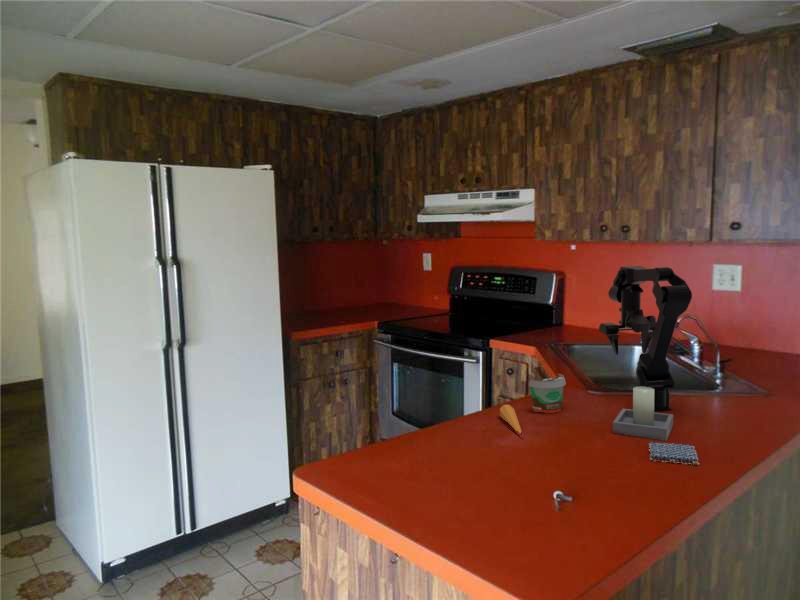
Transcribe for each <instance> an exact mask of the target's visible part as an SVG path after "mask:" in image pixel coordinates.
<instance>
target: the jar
mask: <svg viewBox="0 0 800 600" xmlns="http://www.w3.org/2000/svg"><path fill="white" fill-rule="evenodd" d="M632 391H633V392H632V410H633V424H639V425H647V426H654V412H655V411H654V389H653V388H650V387H642V386H640V387H639V386H635V387H633V388H632Z"/></svg>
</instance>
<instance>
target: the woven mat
mask: <svg viewBox="0 0 800 600" xmlns="http://www.w3.org/2000/svg"><path fill="white" fill-rule="evenodd" d="M678 443H679V442H678ZM678 443H674V442H672V443H670V442H669V443H667V441H666V442H661V443H660V441H655V442H653V441H652V440H651V441H650V442H649V443H648V446H649V447H647V448H648V450H647V451H650V453H651V454H649V460H650V461H651V460H653V461H652V462H656V461H657V462H658V461H661V462H660V463H666V462H670V463H671V464H677V463H682V464H681V465H688V464H691V465H690V466H699V465H700V463H699V457H698V452H697V450H696V449H695V446H693V445H692V444H690V445H689V443H686V444H684V443H683V444H682V443H679V444H678ZM649 448H650V449H649ZM652 457H653V458H652ZM655 457H656V458H655ZM658 457H659V458H658ZM654 458H655V459H654ZM656 459H657V460H656ZM658 459H660V460H658ZM663 459H664V460H663ZM667 460H668V461H667ZM677 461H679V462H677ZM690 462H691V463H690ZM658 463H659V462H658ZM670 463H669V464H670ZM692 464H693V465H692Z"/></svg>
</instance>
